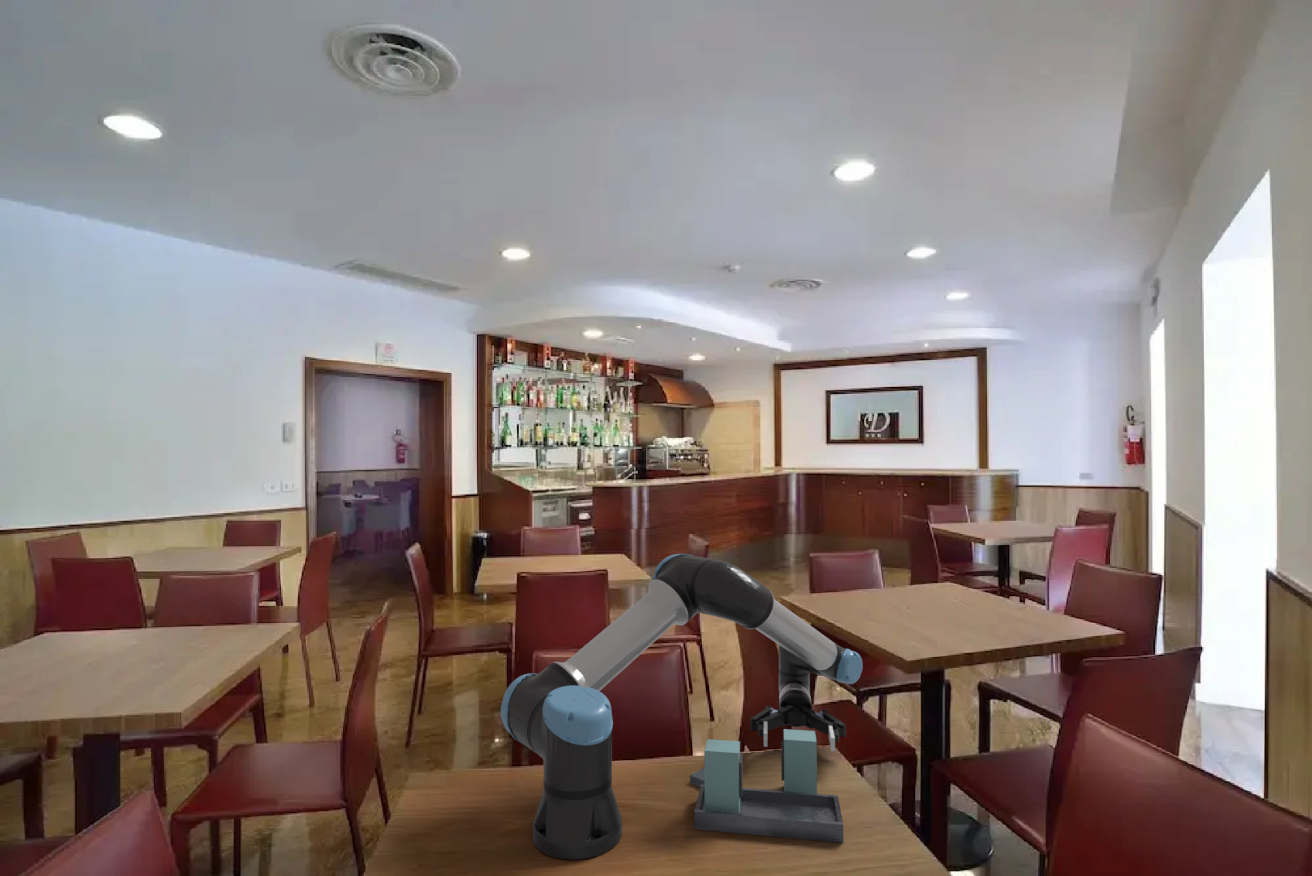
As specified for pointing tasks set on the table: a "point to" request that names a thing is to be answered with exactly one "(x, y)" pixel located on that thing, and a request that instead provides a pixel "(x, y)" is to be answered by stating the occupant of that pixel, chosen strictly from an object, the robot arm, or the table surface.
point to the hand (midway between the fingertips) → (799, 742)
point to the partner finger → (723, 775)
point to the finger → (799, 761)
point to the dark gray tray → (776, 815)
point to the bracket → (698, 777)
